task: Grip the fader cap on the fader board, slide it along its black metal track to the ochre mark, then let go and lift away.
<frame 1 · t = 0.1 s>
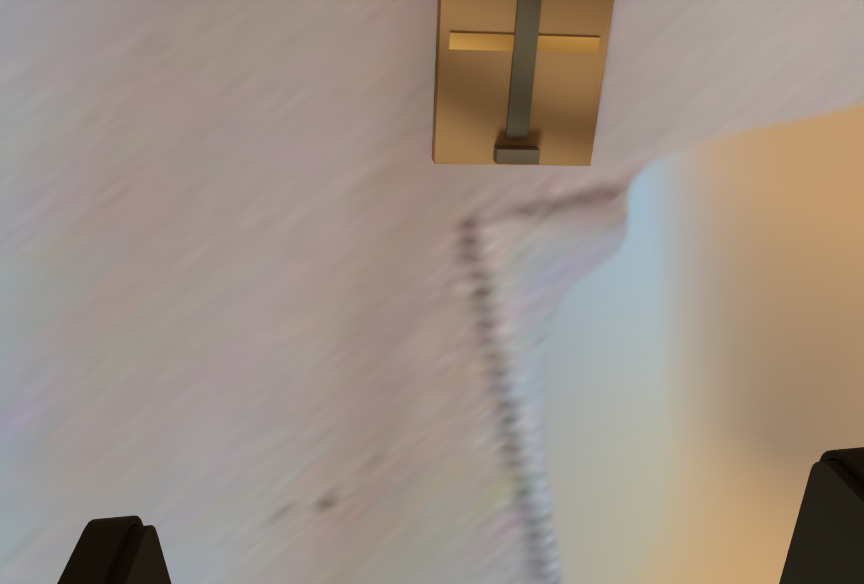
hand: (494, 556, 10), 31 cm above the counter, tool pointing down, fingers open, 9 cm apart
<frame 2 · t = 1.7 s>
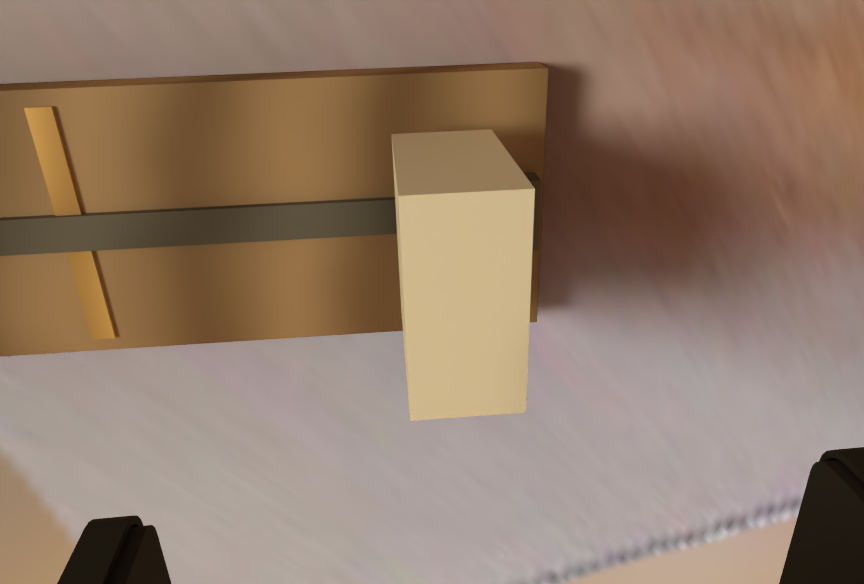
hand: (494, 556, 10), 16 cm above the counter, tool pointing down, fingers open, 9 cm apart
fader board: (223, 209, 23), on the counter
fader cap: (452, 257, 19), point 6 cm above the counter, slide at 0.0 cm
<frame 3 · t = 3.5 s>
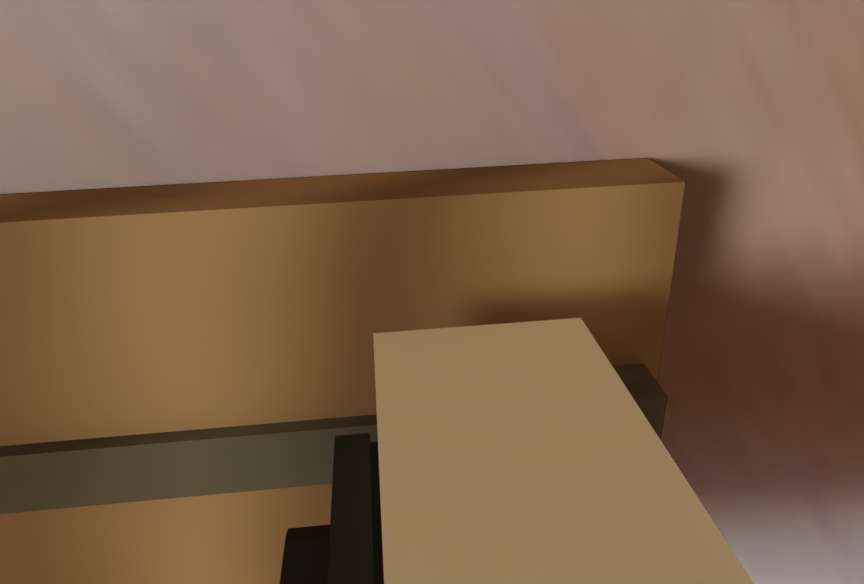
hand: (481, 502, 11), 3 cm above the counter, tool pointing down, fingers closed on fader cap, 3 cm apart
fader board: (69, 419, 13), on the counter
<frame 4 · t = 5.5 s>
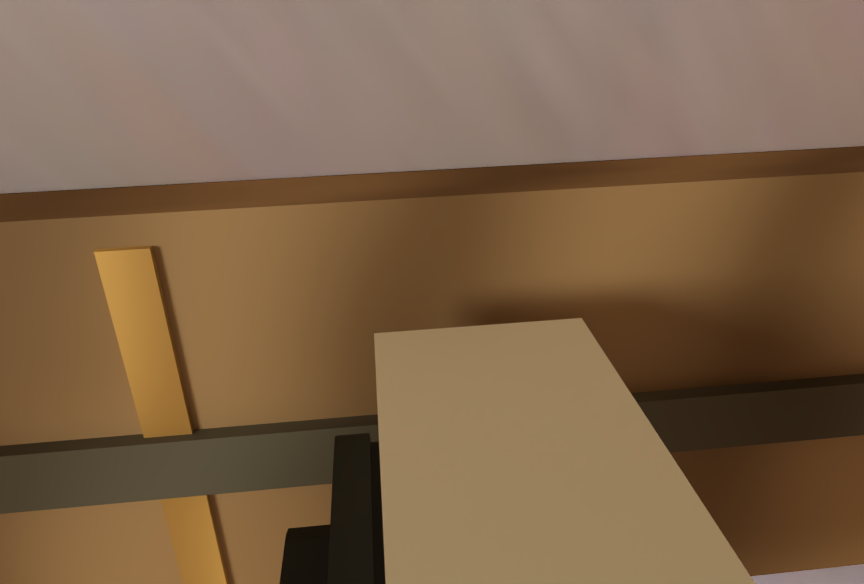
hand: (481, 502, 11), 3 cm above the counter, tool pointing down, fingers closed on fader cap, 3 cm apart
fader board: (424, 390, 13), on the counter
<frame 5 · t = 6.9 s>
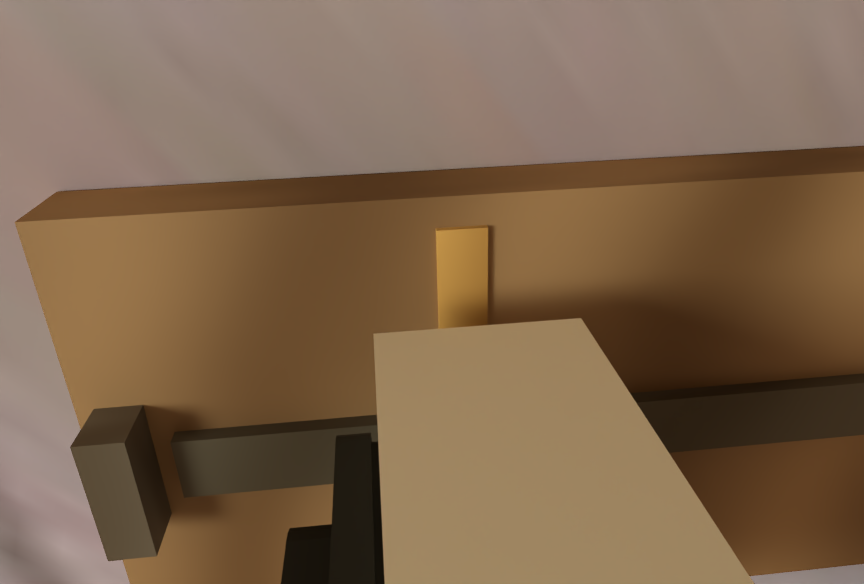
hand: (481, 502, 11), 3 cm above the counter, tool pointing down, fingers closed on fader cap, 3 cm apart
fader board: (668, 370, 14), on the counter
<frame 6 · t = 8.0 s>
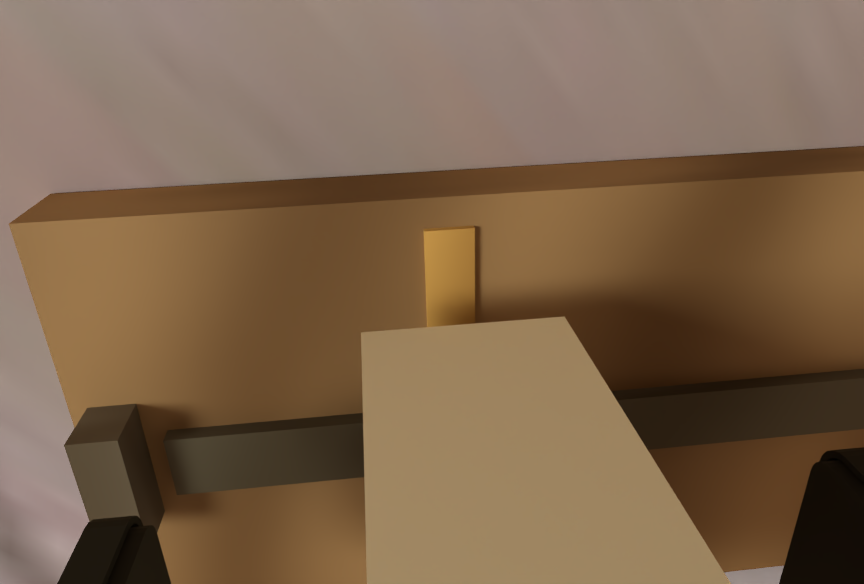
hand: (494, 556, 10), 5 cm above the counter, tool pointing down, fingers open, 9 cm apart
fader board: (655, 368, 14), on the counter
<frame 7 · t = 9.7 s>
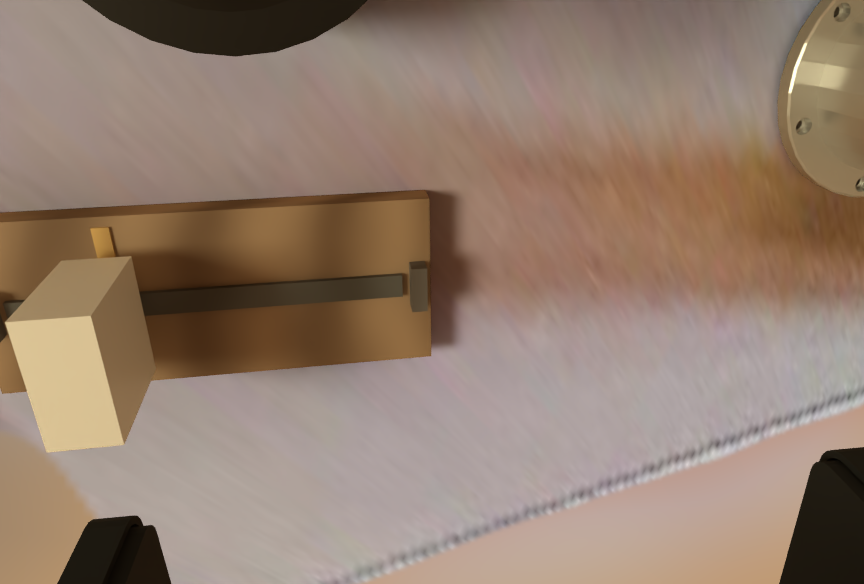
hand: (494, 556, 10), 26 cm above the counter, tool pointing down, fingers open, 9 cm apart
fader board: (217, 285, 35), on the counter
fader cap: (94, 344, 29), point 6 cm above the counter, slide at 12.0 cm
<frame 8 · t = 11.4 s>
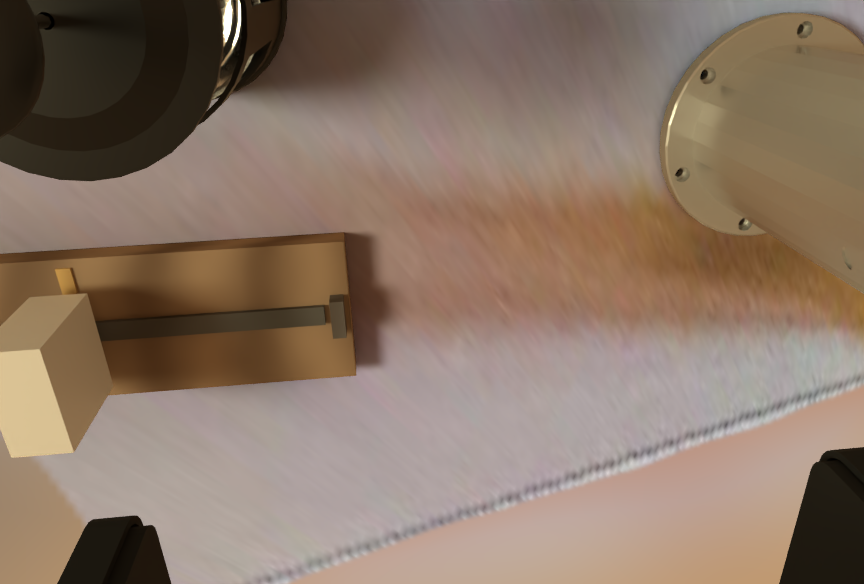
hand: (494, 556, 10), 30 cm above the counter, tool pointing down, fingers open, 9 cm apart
fader board: (168, 313, 40), on the counter
fader cap: (54, 367, 35), point 5 cm above the counter, slide at 12.0 cm
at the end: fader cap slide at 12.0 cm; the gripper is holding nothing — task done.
